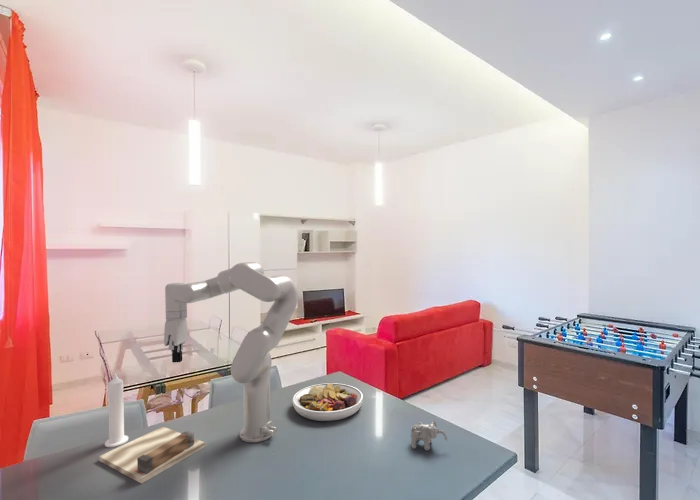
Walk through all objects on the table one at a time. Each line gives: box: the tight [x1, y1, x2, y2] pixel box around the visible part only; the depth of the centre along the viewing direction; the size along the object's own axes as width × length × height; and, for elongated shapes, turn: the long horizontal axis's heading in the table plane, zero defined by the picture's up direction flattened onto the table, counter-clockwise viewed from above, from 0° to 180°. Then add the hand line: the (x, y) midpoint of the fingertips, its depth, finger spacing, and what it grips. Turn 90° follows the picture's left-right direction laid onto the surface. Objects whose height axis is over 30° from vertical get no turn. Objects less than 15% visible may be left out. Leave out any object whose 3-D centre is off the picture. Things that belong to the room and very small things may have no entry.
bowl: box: [292, 382, 364, 422], centre depth 153 cm, size 30×30×8 cm
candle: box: [104, 372, 129, 448], centre depth 127 cm, size 7×7×25 cm
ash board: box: [98, 426, 206, 484], centre depth 120 cm, size 24×22×2 cm
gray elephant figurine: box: [410, 420, 448, 452], centre depth 122 cm, size 9×12×8 cm
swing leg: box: [137, 430, 195, 474], centre depth 115 cm, size 19×4×4 cm, turn 156°
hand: (177, 361), depth 138 cm, fingers closed
